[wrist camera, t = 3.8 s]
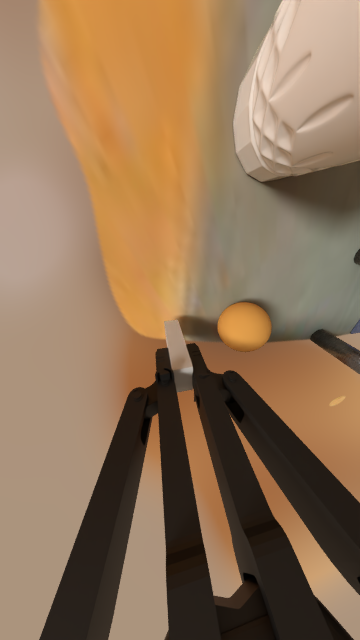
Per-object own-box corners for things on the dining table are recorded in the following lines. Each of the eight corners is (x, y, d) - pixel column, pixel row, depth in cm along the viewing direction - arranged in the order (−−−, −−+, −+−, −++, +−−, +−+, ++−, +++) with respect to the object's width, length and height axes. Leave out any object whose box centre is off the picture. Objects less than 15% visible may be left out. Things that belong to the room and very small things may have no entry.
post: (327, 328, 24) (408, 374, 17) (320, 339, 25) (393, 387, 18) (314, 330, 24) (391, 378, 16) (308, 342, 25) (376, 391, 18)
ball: (256, 292, 18) (293, 314, 13) (246, 329, 21) (274, 358, 16) (212, 297, 17) (235, 322, 13) (209, 334, 20) (227, 366, 16)
